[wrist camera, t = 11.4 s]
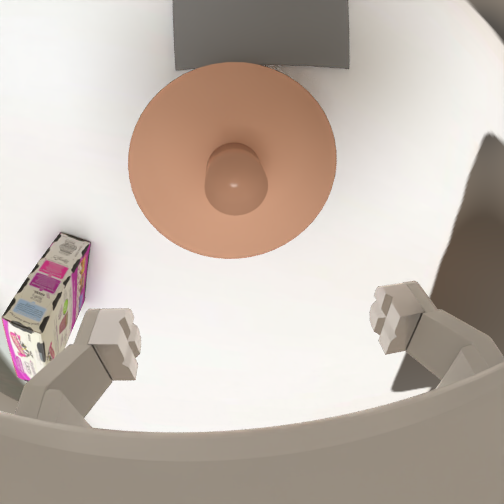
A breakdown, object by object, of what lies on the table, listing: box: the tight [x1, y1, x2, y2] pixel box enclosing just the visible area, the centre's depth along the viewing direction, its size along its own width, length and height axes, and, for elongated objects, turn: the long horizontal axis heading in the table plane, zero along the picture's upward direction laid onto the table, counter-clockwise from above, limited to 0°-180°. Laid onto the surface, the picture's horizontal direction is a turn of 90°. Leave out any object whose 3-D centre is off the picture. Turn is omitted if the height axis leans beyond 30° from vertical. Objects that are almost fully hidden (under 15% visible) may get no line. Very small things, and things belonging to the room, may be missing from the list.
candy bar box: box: [2, 233, 90, 381], centre depth 32 cm, size 11×5×16 cm, turn 157°
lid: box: [128, 62, 336, 259], centre depth 22 cm, size 16×16×5 cm
